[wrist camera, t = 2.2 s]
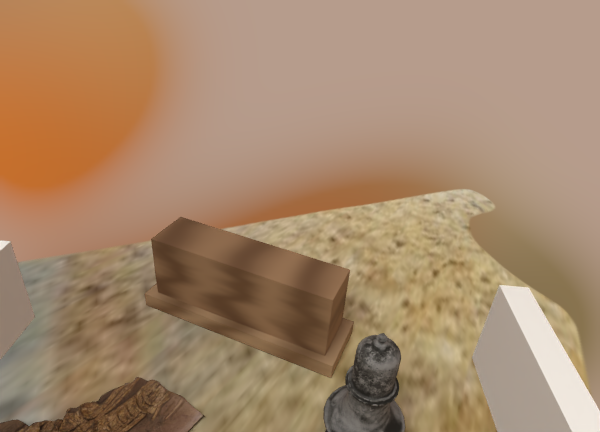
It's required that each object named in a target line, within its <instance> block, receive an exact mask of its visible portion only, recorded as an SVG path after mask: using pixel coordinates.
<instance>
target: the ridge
mask: <svg viewBox="0 0 600 432" xmlns="http://www.w3.org/2000/svg"><path fill="white" fill-rule="evenodd" d="M151 241H152V249H153V257H154V265H155V273H156V281H157V283H156V284H155V285H154V286H153V287H152V288H151V289H150V290H148V291H147V292H146V293H145V298H146V305H148V306H151V307H153V308H156V309H158V310H161V311H163V312H166V313H168V314H171V315H173V316H176V317H178V318H181V319H183V320H186V321H188V322H191V323H193V324H196V325H198V326H201V327H204V328H206V329H209V330H211V331H214V332H216V333H219V334H221V335H224V336H226V337H229V338H231V339H234V340H236V341H239V342H241V343H244V344H246V345H249V346H252V347H254V348H257V349H259V350H262V351H264V352H267V353H269V354H272V355H274V356H277V357H279V358H282V359H284V360H287V361H289V362H292V363H294V364H297V365H299V366H302V367H305V368H307V369H310V370H312V371H315V372H317V373H320V374H322V375H325V376H327V377H330V378H331V377H332V375H333V372H334V370H335V368H336V366H337V364H338V362H339V359H340V357H341V355H342V353H343V351H344V349H345V346H346V344H347V342H348V340H349V338H350V336H351V333H352V329H353V323H354V322H353V321H350V320H347V319H345V318H342V317H343V310H344V304H345V298H346V292H347V285H348V279H349V273H350V270H349V269H346V268H342V267H339V266H336V265H333V264H330V263H326V262H323V261H320V260H317V259H314V258H310V257H307V256H304V255H301V254H298V253H294V252H291V251H288V250H285V249H282V248H279V247H275V246H272V245H269V244H266V243H263V242H259V241H256V240H253V239H250V238H247V237H243V236H240V235H237V234H234V233H231V232H227V231H224V230H221V229H218V228H215V227H211V226H208V225H205V224H202V223H199V222H195V221H192V220H189V219H186V218H182V217H180V218H179V219H178V220H176V221H175V222H173V223H172V224H171V225H169V226H168V227H167V228H165V229H164V230H163V231H161V232H160V233H159V234H157V235H156V236H155V237H153V238H152V239H151Z"/></svg>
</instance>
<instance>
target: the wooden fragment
mask: <svg viewBox="0 0 600 432" xmlns="http://www.w3.org/2000/svg"><path fill="white" fill-rule="evenodd" d="M202 416H204V415H202V414H201V413H200V412H199V411H198V410H196V409H195V408H194V407H193V406H191V405H190V404H189V403H188V402H187V401H186V399H185V398H184V397H182V396H181V395H178V394H175V393H173V392H170V391H168V390H166V389H165V388H164V387H163V386H162V385H161V384H160V383H159V382H158V381H155V380H150V381H146V380H144V379H142V378H139V377H136V379H135V380H134V382H131V383H126V384H125V385H123V386H121V387H118V388H116V389H113V390H111V391H109V392H107V393H105V394H104V395H102V396H101V397H100V399H99V401H97V402H91V403H88V402H87V403H84V404H82V405H80V407H77V408H69V409H68V410H67V412H66V415H65V416H64V419H63V420H61V419H58V420H56V421H42V422H36V423H33V424H32V425H31V426H28V425H26V424H24V423H23V422H21V421H19V420H12V421H8V422H3V423H0V432H188V431H189V430H190V429H191V428H192V426H193V425H194V424H195V423H196V422H197V421H198V420H199V419H200V418H201V417H202ZM204 417H205V416H204Z"/></svg>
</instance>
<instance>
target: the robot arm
mask: <svg viewBox="0 0 600 432" xmlns="http://www.w3.org/2000/svg"><path fill="white" fill-rule="evenodd" d="M34 317H35V316H34V312H33V309H32V306H31V303H30V300H29V297H28V294H27V291H26V288H25V285H24V282H23V278H22V275H21V272H20V269H19V266H18V263H17V260H16V257H15V254H14V251H13V247H12V244H11V242H10V241H1V240H0V360H1V358H2V357H3V356H4V355H5V353H6V352H7V351H8V350H9V349H10V347H11V346H12V345H13V344H14V342H15V341H16V340H17V339H18V337H19V336H20V335H21V334H22V332H23V331H24V330H25V329H26V327H27V326H28V325H29V324H30V322H31V321H32V320H33V319H34ZM472 359H473V361H474V364H475V367H476V370H477V373H478V376H479V379H480V382H481V385H482V388H483V391H484V394H485V397H486V400H487V403H488V405H489V408H490V411H491V414H492V417H493V420H494V423H495V426H496V429H497V432H600V411H599V409H598V407H597V405H596V404H595V402H594V400H593V398H592V397H591V395H590V393H589V391H588V390H587V388H586V386H585V385H584V383H583V381H582V379H581V378H580V376H579V374H578V372H577V371H576V369H575V367H574V365H573V364H572V362H571V360H570V359H569V357H568V355H567V353H566V352H565V350H564V348H563V346H562V345H561V343H560V341H559V340H558V338H557V336H556V334H555V333H554V331H553V329H552V327H551V326H550V324H549V322H548V320H547V319H546V317H545V315H544V314H543V312H542V310H541V308H540V307H539V305H538V303H537V301H536V300H535V298H534V296H533V294H532V293H531V291H530V289H529V288H527V287H516V286H505V285H499V287H498V290H497V293H496V295H495V298H494V301H493V303H492V306H491V309H490V311H489V314H488V317H487V319H486V322H485V324H484V327H483V330H482V332H481V335H480V338H479V340H478V343H477V346H476V348H475V351H474V354H473V356H472Z"/></svg>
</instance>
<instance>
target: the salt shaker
mask: <svg viewBox="0 0 600 432" xmlns="http://www.w3.org/2000/svg"><path fill="white" fill-rule="evenodd" d="M400 361H401V354H400V350H399V348H398V346H397V345H396V344H395V343H394V342H393V341H392V340H391V339H389V338H387V336H386V335H385V334H384V333H382V334H379V335H372V336H369V337H366V338H364V339H363V340H362V341H361V342H360V343H359V345H358V347H357V350H356V355H355V361H354V365H353V366H352V367H351V368H350V369H349V370H348V371H347V374H346V385H345V386H342V387H340V388H338V389H337V390H336V391H334V392H333V393H332V394H331V395H330V397H329V398H328V399H327V401H326V404H325V407H324V422H325V426H326V431H325V432H404V431H405V422H404V416H403V414H402V411H401V409H400V407H399V406H398V405H397V403H396V402H395V400H394V399H395V398H396V396H397V395H398V391H399V383H398V380H397V378H396V376H397V372H398V369H399V365H400Z"/></svg>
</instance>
